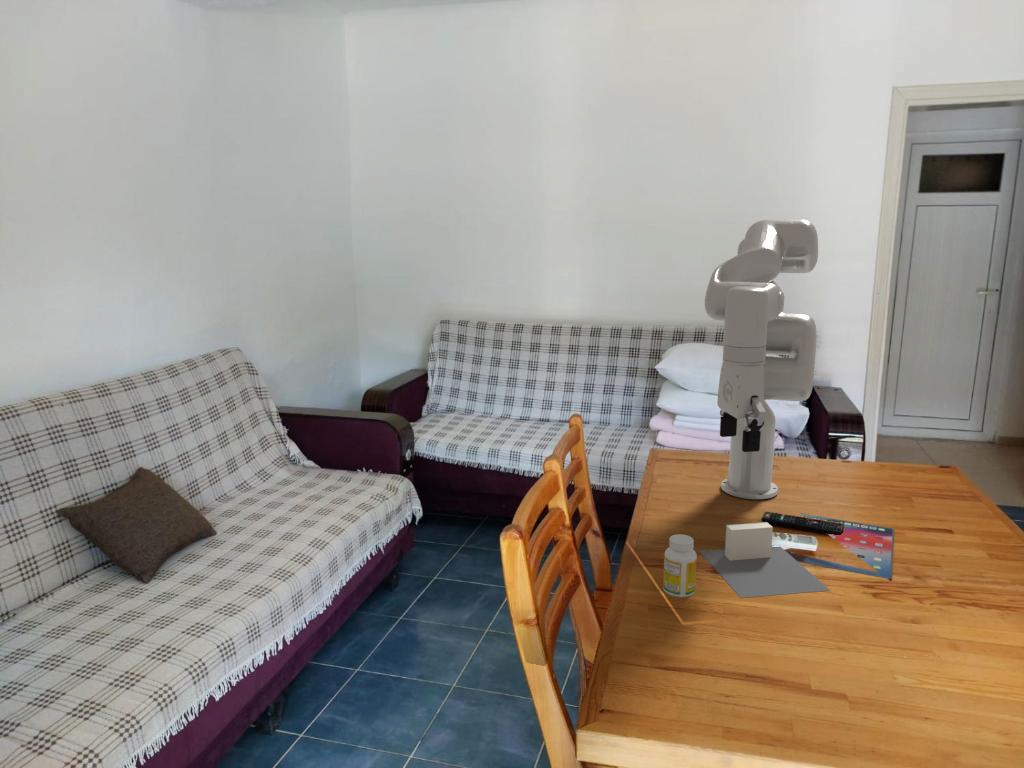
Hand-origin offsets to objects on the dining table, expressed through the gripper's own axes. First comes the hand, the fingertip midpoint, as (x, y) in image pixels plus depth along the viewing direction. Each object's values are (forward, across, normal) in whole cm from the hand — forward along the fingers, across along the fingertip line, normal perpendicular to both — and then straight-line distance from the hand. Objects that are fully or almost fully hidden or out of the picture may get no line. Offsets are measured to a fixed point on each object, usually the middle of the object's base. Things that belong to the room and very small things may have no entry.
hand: (738, 443), depth 141 cm
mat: (+20, +12, 0) cm, 24 cm away
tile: (+20, +7, 0) cm, 21 cm away
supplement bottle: (+20, +17, -17) cm, 32 cm away
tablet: (+21, +4, +20) cm, 29 cm away
